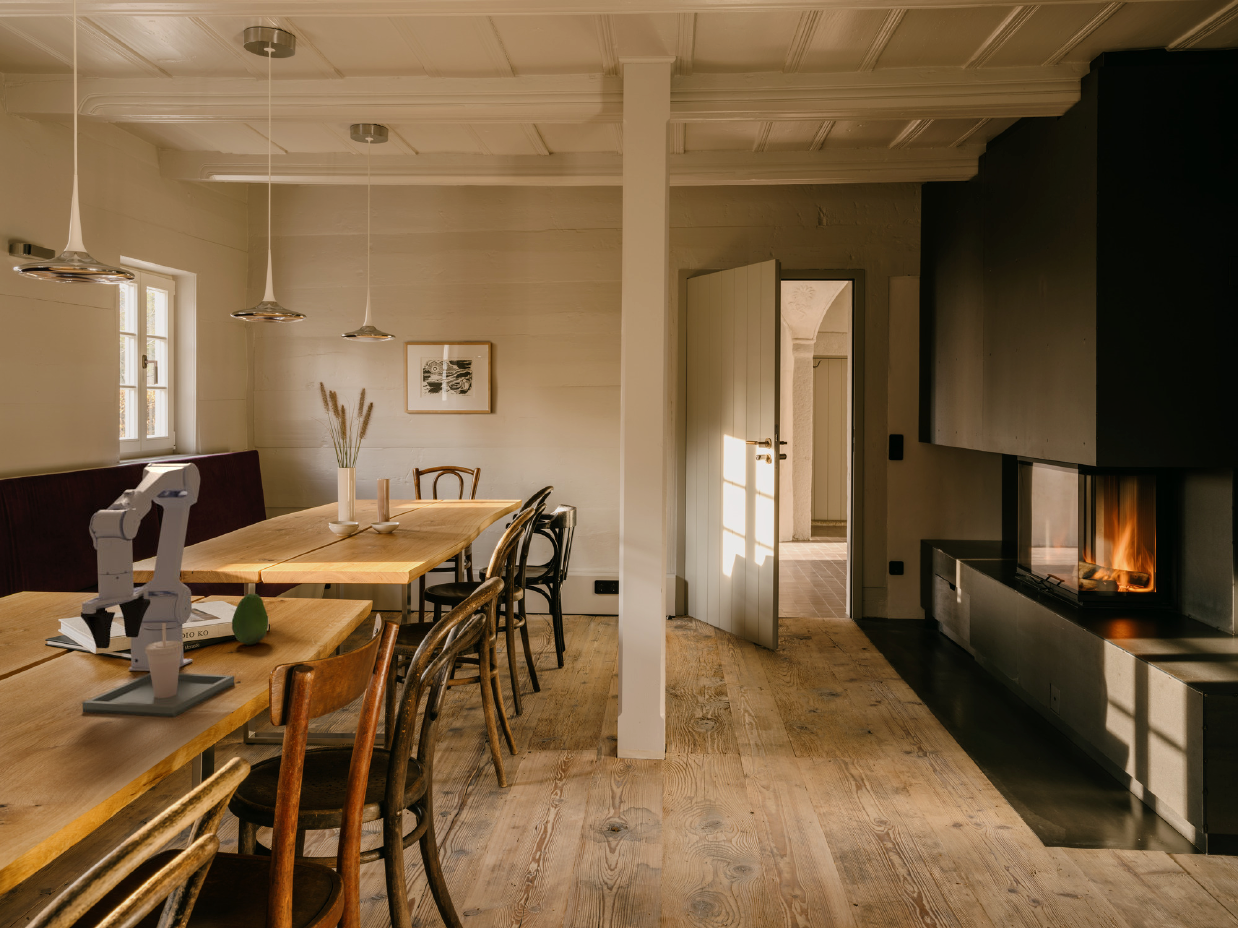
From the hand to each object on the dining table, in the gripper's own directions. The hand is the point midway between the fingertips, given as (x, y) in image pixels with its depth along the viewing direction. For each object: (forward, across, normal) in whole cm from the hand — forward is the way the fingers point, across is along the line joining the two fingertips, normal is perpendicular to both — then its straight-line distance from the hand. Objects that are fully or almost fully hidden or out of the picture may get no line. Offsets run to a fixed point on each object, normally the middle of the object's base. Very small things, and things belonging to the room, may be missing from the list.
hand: (117, 642), depth 155 cm
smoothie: (+10, 0, -10) cm, 14 cm away
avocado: (+11, +37, -4) cm, 39 cm away
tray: (+10, 0, -9) cm, 14 cm away
